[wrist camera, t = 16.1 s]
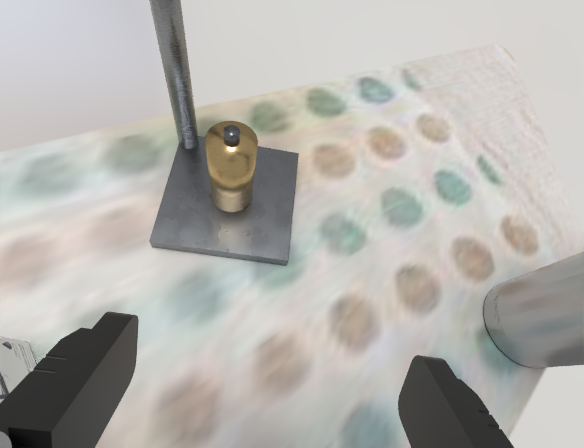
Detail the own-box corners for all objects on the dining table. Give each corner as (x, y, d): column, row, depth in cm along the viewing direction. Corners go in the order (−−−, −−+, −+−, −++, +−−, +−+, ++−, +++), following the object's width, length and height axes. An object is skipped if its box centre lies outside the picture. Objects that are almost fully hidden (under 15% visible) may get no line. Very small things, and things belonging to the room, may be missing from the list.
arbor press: (297, 154, 43) (428, -314, 14) (285, 265, 37) (490, -200, 8) (177, 134, 42) (59, -437, 13) (143, 245, 35) (-266, -428, 6)
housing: (254, 180, 39) (261, 115, 30) (249, 214, 37) (255, 157, 28) (214, 174, 38) (209, 107, 29) (207, 208, 36) (199, 148, 27)
